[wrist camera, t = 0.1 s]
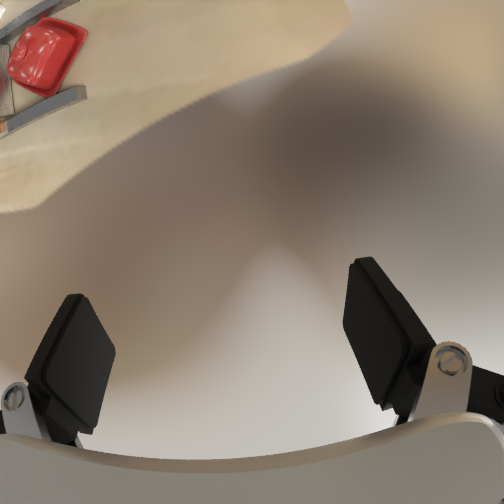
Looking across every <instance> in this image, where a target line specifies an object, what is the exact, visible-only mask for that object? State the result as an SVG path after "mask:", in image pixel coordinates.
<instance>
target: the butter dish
mask: <svg viewBox="0 0 504 504" xmlns="http://www.w3.org/2000/svg"><path fill="white" fill-rule="evenodd" d="M86 36H87V31H86V30H85V29H84V28H82V27H79V26H77V25H74V24H71V23H68V22H65V21H61V20H58V19H54V18H50V17H43V18H41V19H40V20H39V22H38V23H37V25H32V26H29V27H28V28H26V30H25V31H24V32H23V33H22V35H21V36H20V38H19V39H18V41H17V43H16V44H15V46H14V48H13V50H12V53H11V55H10V57H9V60H8V63H7V74H8V75H9V76H10V77H12V80H13V81H14V82H15V83H16V84H18V85H20V86H22V87H24V88H26V89H28V90H30V91H32V92H34V93H36V94H38V95H40V96H43V97H46V98H50V97H52V96H54V95H55V94H56V92H57V91H58V88H59V87H60V85H61V83H62V81H63V79H64V77H65V75H66V73H67V71H68V69H69V67H70V65H71V63H72V62H73V60H74V58H75V56H76V54H77V53H78V51H79V49H80V47H81V46H82V44H83V42H84V40H85V38H86Z"/></svg>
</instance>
